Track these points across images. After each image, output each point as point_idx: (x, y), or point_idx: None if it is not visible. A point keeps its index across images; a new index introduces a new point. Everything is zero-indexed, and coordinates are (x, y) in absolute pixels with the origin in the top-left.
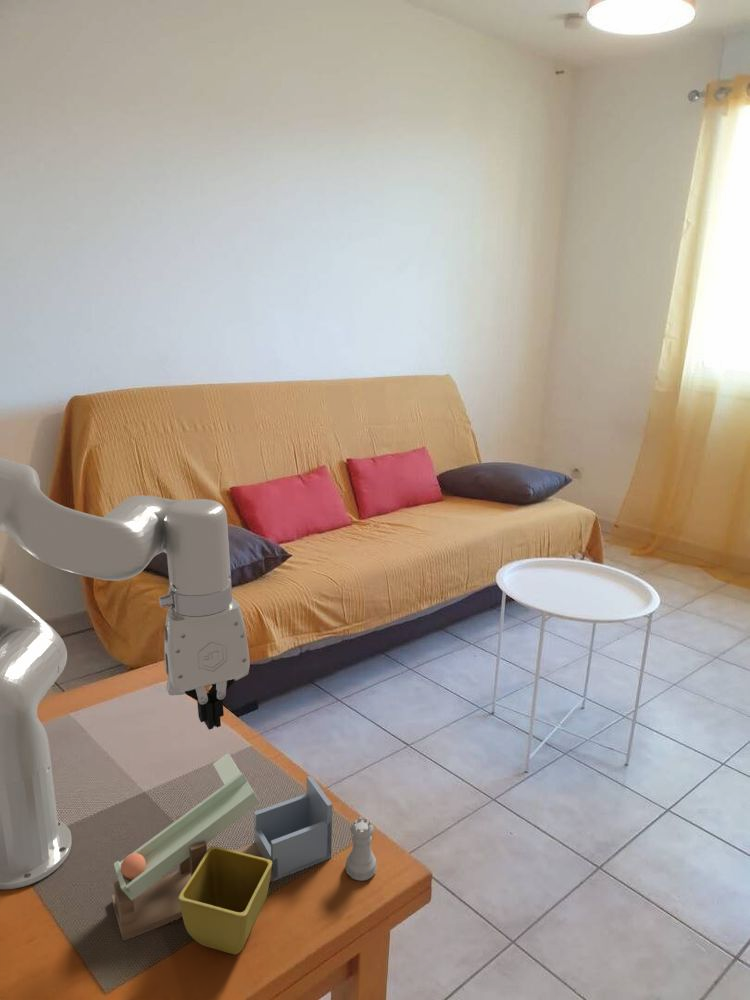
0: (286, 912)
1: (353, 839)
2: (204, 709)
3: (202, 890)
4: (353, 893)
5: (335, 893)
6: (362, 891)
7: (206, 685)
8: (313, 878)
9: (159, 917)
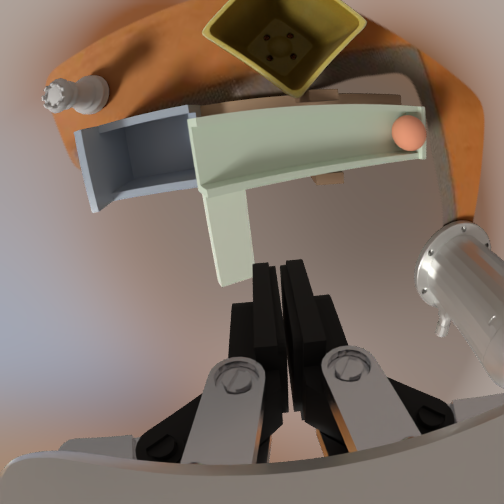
0: (198, 53)
1: (76, 93)
2: (324, 332)
3: (314, 66)
4: (113, 61)
5: (132, 66)
6: (102, 62)
7: (400, 453)
8: (150, 95)
9: (358, 97)
